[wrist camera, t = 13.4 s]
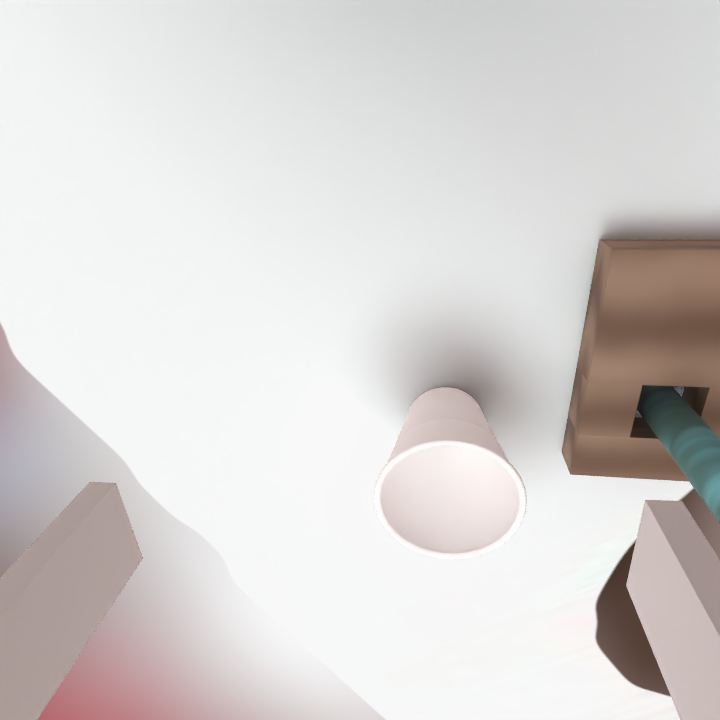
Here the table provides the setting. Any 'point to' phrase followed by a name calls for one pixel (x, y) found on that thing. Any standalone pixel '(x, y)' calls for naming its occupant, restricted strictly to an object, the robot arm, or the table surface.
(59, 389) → the table surface
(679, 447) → the peg
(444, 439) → the cup
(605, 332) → the hole plate
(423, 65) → the table surface
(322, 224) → the table surface
